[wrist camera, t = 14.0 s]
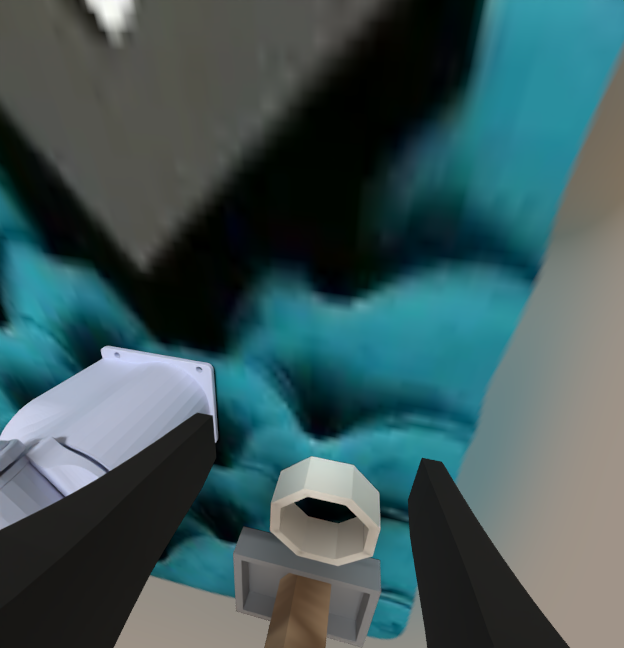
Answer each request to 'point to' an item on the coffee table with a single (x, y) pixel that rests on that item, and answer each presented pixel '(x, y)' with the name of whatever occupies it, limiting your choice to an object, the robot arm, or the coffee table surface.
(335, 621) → the tray
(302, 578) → the walnut peg
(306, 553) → the white octagonal ring
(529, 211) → the coffee table surface
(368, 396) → the coffee table surface
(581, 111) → the coffee table surface
